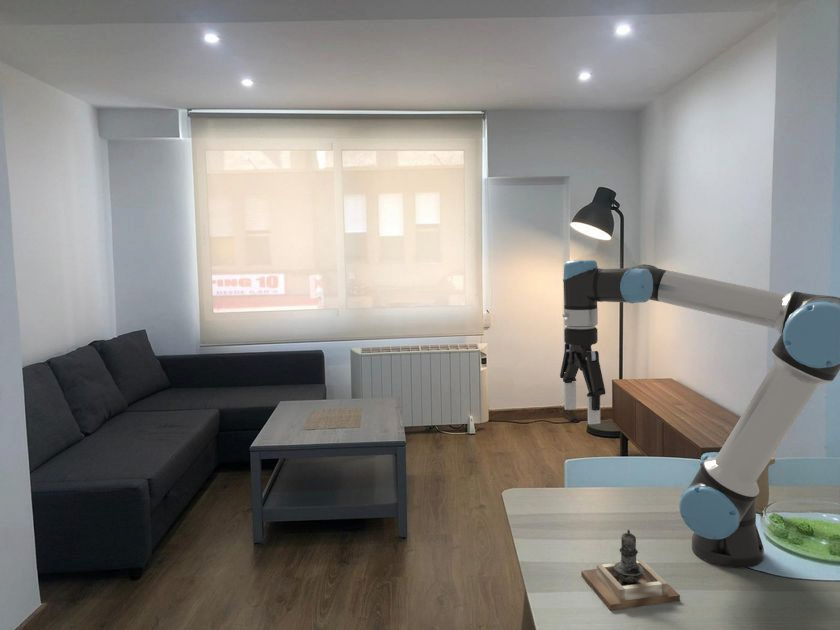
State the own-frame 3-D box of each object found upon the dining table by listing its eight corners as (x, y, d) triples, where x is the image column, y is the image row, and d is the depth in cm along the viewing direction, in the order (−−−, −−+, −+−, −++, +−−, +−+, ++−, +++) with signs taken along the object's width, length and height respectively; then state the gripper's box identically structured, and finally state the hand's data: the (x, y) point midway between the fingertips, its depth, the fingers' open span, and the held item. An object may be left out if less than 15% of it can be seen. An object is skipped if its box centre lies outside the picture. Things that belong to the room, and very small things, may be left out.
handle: (774, 516, 172) (775, 460, 170) (746, 513, 174) (747, 458, 172) (772, 509, 176) (774, 454, 174) (745, 506, 179) (746, 452, 177)
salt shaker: (620, 574, 143) (620, 521, 142) (647, 582, 140) (647, 528, 138) (609, 586, 139) (609, 531, 137) (637, 594, 135) (637, 538, 134)
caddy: (645, 567, 148) (645, 552, 148) (679, 600, 135) (680, 584, 134) (581, 576, 146) (581, 560, 145) (610, 610, 132) (610, 593, 132)
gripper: (546, 321, 166) (547, 404, 169) (588, 334, 142) (588, 431, 144) (574, 319, 167) (575, 402, 170) (621, 332, 143) (621, 429, 145)
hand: (581, 416), depth 157 cm, fingers open, 13 cm apart
